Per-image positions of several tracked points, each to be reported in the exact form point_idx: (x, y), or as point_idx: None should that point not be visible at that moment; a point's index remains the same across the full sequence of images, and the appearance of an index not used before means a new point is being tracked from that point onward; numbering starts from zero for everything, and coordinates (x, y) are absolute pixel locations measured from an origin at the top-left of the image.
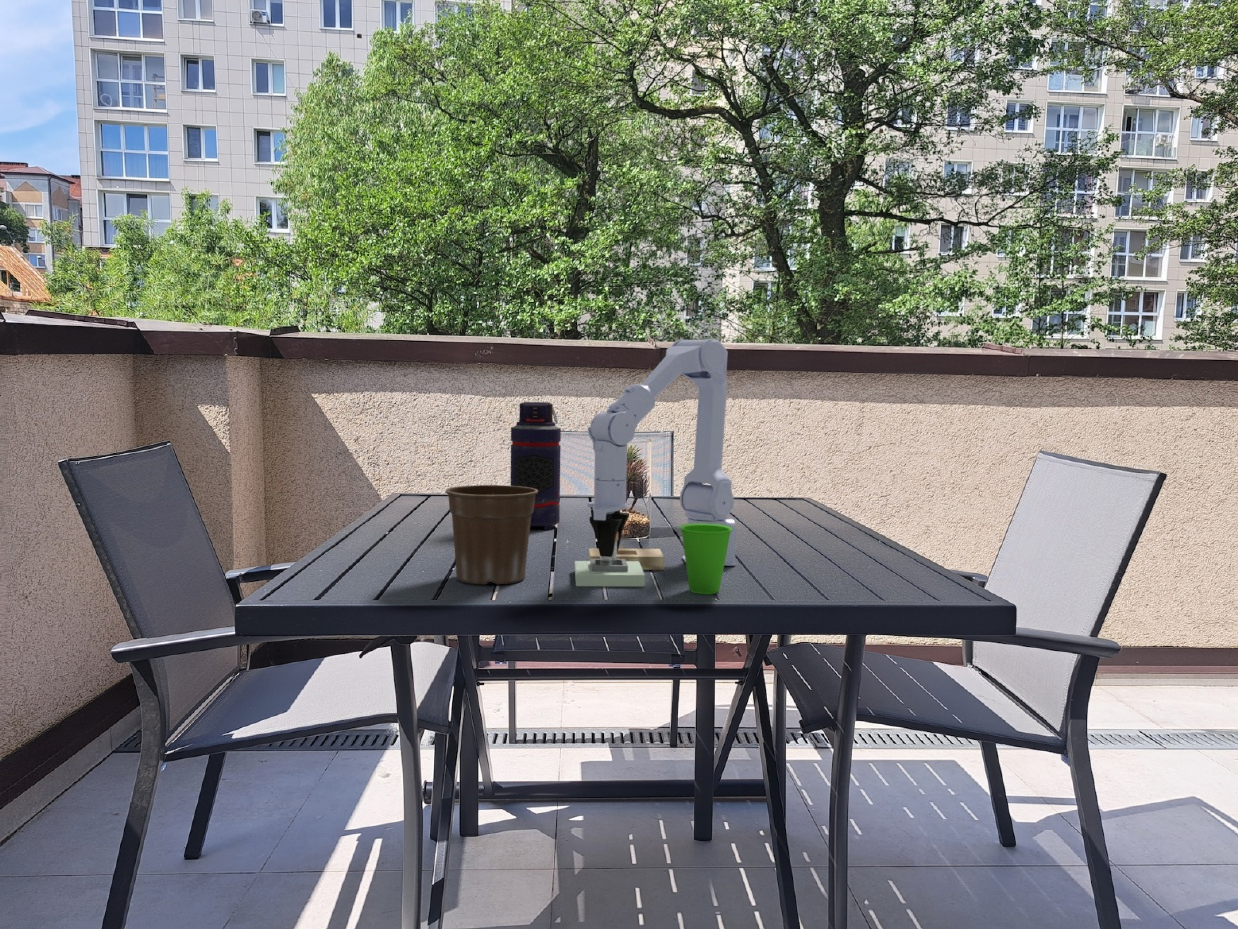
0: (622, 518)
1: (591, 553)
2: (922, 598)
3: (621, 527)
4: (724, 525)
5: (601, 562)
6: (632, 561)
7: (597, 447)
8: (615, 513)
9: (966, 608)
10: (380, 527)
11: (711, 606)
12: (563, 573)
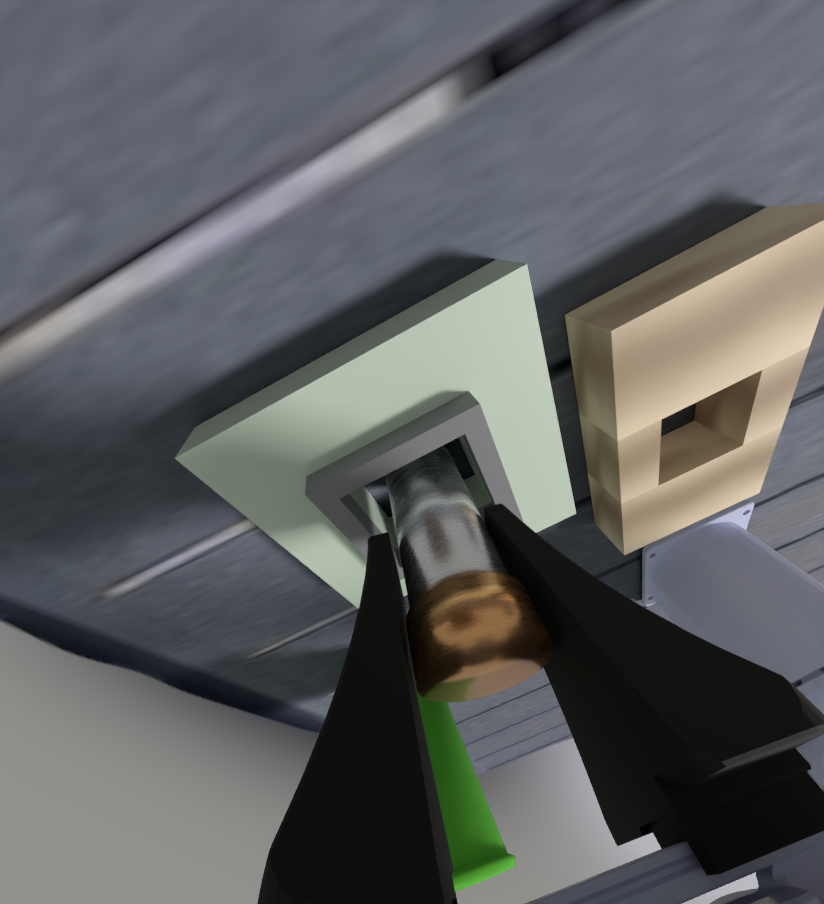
0: (603, 792)
1: (692, 296)
2: (476, 755)
3: (561, 703)
4: (496, 874)
5: (397, 496)
6: (568, 501)
7: None
8: (659, 837)
9: None
10: None
11: (270, 712)
12: (432, 210)
